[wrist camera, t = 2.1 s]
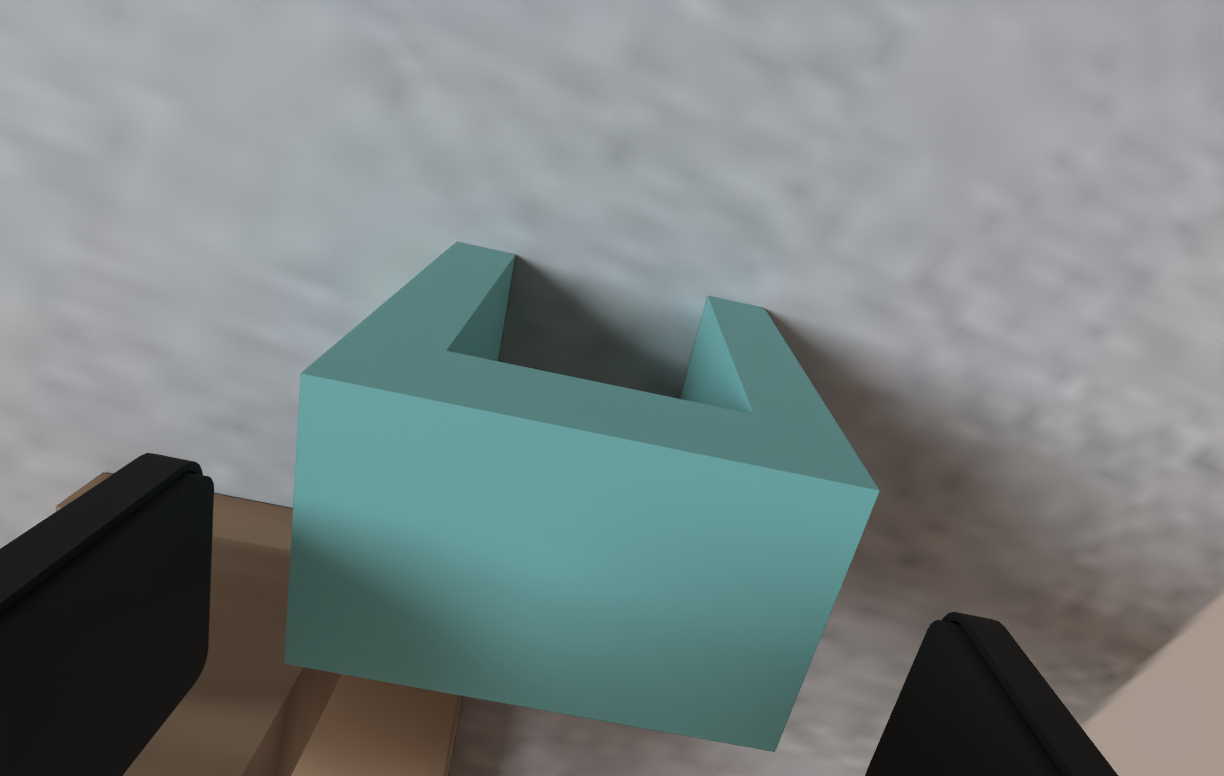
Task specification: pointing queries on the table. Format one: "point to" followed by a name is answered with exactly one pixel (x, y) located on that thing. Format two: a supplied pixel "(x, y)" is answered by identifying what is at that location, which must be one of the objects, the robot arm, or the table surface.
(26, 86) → the table surface
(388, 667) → the clip
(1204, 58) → the table surface
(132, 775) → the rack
